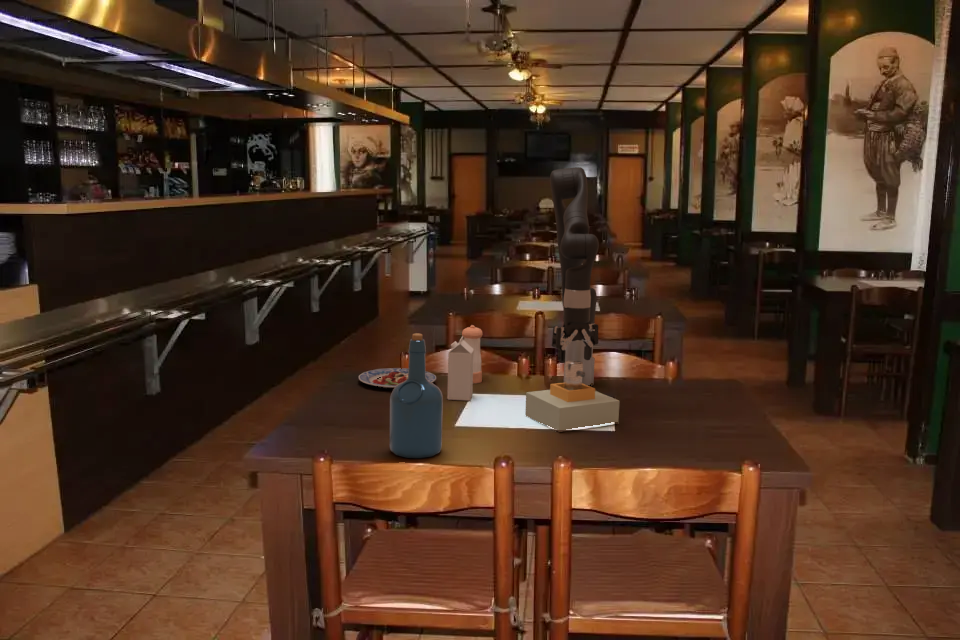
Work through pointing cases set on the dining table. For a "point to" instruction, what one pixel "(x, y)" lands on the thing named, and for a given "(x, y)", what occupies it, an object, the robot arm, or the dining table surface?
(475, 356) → the pepper shaker
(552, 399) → the slab with orange tray
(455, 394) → the milk carton
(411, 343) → the wine bottle
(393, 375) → the ceramic plate
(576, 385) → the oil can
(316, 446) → the dining table surface
